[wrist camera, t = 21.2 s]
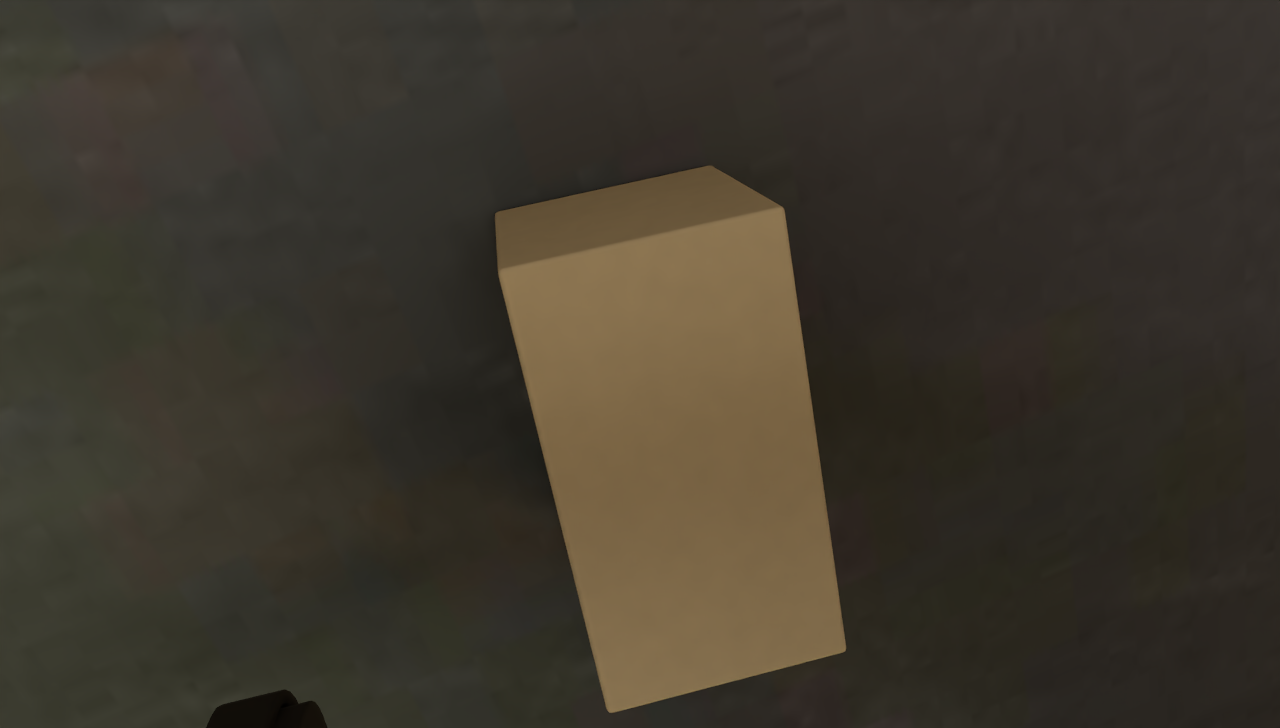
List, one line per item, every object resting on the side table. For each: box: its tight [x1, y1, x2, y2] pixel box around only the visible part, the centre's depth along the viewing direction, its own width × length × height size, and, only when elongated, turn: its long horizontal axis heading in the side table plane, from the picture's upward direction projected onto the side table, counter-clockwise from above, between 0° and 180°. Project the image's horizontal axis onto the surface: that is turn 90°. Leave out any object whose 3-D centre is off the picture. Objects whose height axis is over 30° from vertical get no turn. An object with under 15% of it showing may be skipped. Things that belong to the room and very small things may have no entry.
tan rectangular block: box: [495, 166, 846, 713], centre depth 14 cm, size 6×4×4 cm, turn 11°
